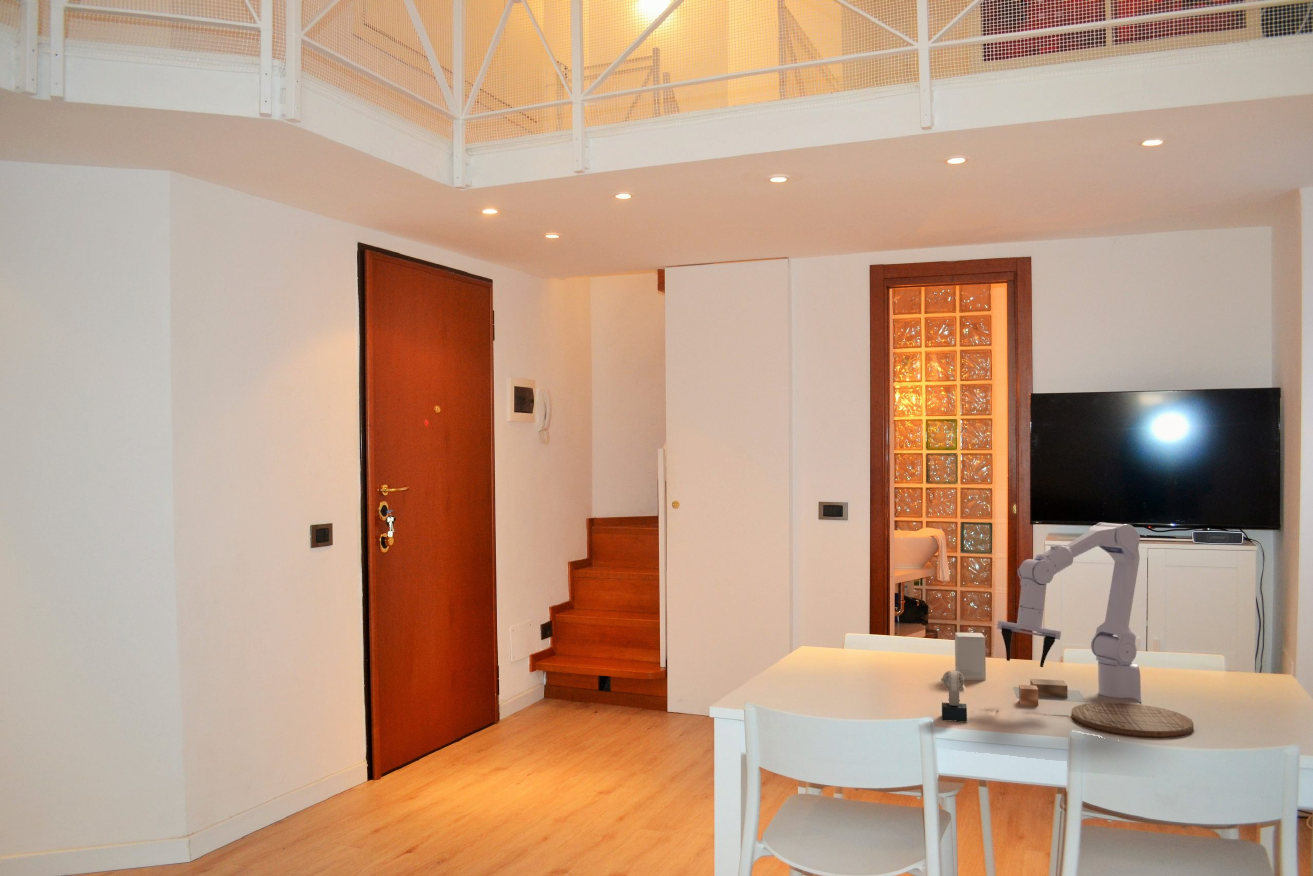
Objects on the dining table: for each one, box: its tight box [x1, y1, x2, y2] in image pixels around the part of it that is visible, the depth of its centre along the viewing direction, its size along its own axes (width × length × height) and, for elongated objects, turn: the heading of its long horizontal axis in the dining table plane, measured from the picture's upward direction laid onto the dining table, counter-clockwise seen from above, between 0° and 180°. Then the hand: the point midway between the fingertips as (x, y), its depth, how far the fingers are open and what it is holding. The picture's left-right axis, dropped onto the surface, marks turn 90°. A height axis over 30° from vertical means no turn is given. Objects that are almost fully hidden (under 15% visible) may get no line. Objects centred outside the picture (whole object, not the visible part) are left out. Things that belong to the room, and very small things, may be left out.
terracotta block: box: [1018, 684, 1039, 707], centre depth 234 cm, size 4×4×5 cm
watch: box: [940, 670, 968, 722], centre depth 224 cm, size 6×8×11 cm
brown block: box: [1029, 678, 1068, 698], centre depth 243 cm, size 8×6×3 cm
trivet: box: [1071, 701, 1195, 739], centre depth 219 cm, size 25×25×2 cm
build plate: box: [1012, 686, 1088, 703], centre depth 243 cm, size 16×12×1 cm
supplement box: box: [954, 632, 987, 681], centre depth 263 cm, size 7×7×13 cm
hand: (1024, 663), depth 235 cm, fingers open, 7 cm apart
